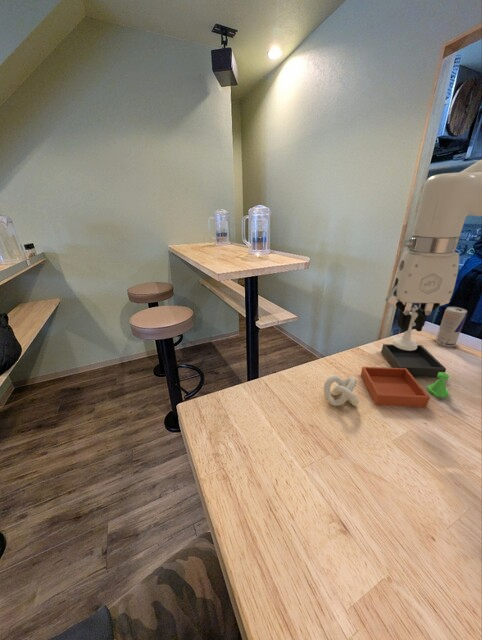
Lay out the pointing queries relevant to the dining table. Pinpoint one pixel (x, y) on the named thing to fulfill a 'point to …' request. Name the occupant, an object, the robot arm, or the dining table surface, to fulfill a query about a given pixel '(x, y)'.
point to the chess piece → (407, 334)
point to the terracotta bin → (394, 387)
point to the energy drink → (451, 326)
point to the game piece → (439, 386)
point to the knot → (340, 390)
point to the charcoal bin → (413, 360)
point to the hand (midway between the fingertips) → (409, 328)
